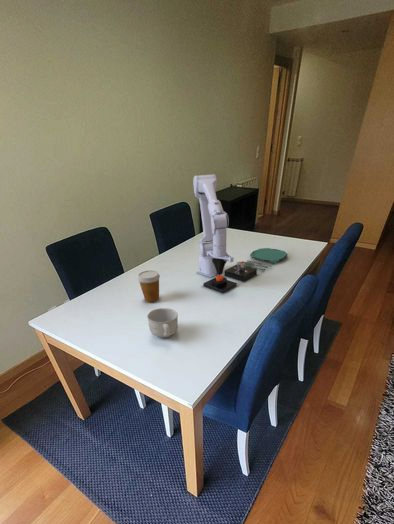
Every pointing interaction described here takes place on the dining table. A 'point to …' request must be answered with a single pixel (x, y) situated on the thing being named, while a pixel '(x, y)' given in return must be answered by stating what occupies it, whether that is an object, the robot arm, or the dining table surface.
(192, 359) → the dining table surface
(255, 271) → the dial panel
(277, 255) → the green plate with cutlery
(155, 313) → the teacup
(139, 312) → the dining table surface
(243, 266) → the oven dial
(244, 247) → the dining table surface
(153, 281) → the disposable coffee cup
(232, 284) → the button housing
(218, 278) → the button
